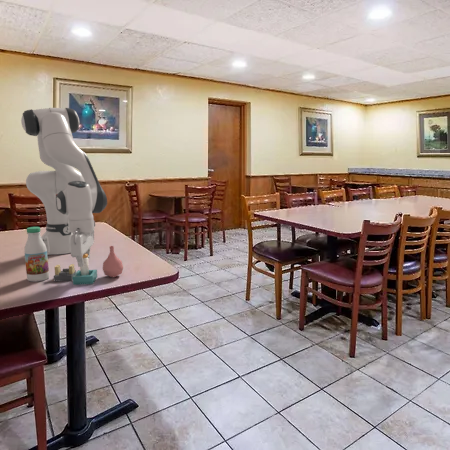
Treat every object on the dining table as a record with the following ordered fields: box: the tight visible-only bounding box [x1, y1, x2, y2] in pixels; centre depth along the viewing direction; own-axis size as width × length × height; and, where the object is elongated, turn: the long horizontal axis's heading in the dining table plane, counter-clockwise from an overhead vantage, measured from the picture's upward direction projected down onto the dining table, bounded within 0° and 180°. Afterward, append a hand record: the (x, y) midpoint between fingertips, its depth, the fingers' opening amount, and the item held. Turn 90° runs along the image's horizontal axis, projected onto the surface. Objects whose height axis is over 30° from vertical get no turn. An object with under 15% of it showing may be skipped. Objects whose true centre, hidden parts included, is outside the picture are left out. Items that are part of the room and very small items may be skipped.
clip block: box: [53, 263, 77, 282], centre depth 149 cm, size 6×6×5 cm
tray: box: [72, 269, 98, 286], centre depth 146 cm, size 7×8×3 cm
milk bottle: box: [24, 226, 50, 282], centre depth 147 cm, size 8×8×20 cm
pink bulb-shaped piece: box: [102, 245, 124, 278], centre depth 150 cm, size 8×8×12 cm
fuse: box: [79, 253, 90, 276], centre depth 145 cm, size 3×3×9 cm
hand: (84, 262), depth 145 cm, fingers open, 8 cm apart
